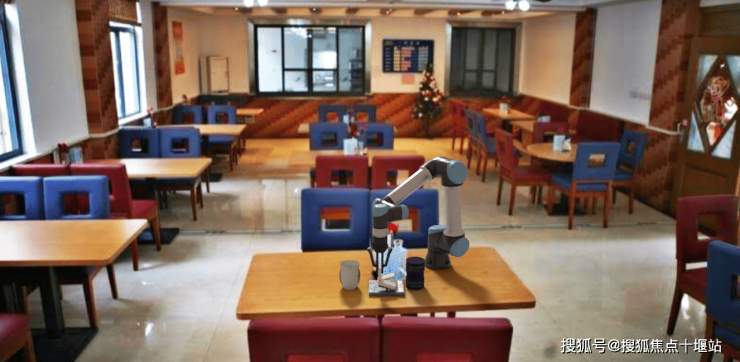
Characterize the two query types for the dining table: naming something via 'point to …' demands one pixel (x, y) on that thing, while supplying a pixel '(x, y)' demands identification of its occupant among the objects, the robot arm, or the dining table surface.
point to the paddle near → (387, 284)
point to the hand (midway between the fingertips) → (379, 279)
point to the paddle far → (388, 276)
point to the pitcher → (349, 274)
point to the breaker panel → (386, 289)
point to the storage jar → (415, 273)
